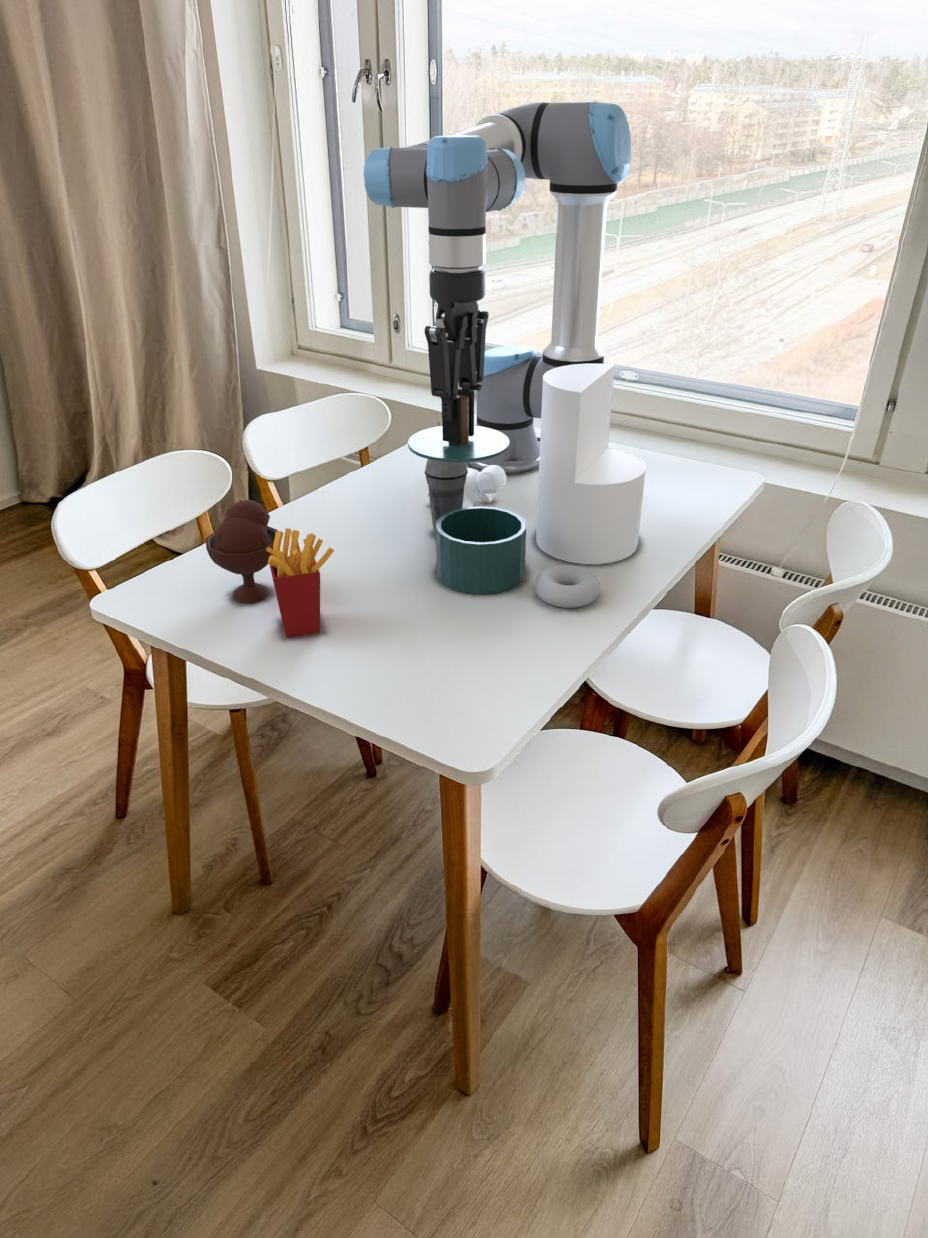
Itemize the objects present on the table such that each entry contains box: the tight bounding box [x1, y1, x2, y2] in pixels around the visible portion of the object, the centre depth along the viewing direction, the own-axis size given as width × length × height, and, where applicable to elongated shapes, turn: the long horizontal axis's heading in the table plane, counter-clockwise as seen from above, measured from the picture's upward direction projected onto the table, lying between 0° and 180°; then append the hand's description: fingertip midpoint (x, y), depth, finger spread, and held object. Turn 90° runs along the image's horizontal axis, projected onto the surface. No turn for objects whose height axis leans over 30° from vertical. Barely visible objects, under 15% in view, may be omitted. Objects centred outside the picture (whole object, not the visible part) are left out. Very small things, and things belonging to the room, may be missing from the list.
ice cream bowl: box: [205, 499, 279, 604], centre depth 131 cm, size 11×11×15 cm
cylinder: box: [535, 363, 647, 565], centre depth 143 cm, size 17×17×28 cm
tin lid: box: [407, 395, 510, 463], centre depth 127 cm, size 15×15×8 cm
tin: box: [435, 505, 527, 595], centre depth 138 cm, size 14×14×8 cm
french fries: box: [266, 527, 335, 638], centre depth 123 cm, size 9×8×15 cm
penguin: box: [426, 465, 507, 508], centre depth 161 cm, size 8×8×15 cm
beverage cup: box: [424, 421, 468, 537], centre depth 148 cm, size 7×7×20 cm
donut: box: [533, 564, 601, 609], centre depth 133 cm, size 10×4×10 cm
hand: (458, 437), depth 129 cm, fingers closed on tin lid, 3 cm apart
